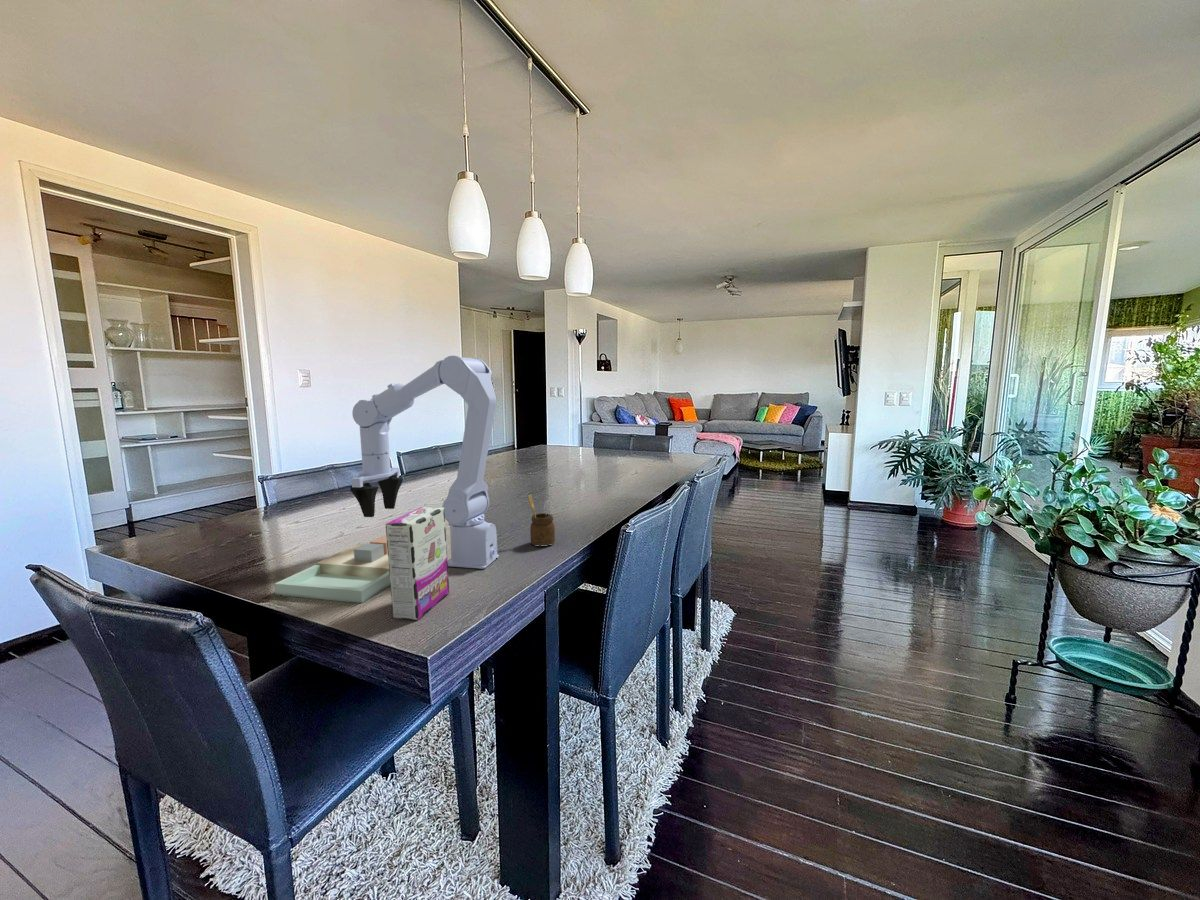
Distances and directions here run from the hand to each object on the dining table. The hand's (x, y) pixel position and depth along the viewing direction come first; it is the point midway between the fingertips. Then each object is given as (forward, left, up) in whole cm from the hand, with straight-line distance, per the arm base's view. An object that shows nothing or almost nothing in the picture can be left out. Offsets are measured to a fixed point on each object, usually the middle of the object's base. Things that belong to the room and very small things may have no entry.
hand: (379, 512), depth 113 cm
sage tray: (-4, +20, -10) cm, 23 cm away
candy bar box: (-24, +24, -10) cm, 36 cm away
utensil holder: (-34, -13, -10) cm, 38 cm away
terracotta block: (-4, +5, -7) cm, 10 cm away
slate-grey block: (-4, +10, -7) cm, 13 cm away
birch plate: (-4, +8, -10) cm, 13 cm away
